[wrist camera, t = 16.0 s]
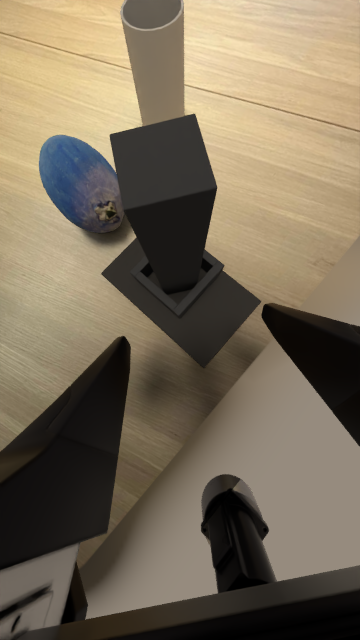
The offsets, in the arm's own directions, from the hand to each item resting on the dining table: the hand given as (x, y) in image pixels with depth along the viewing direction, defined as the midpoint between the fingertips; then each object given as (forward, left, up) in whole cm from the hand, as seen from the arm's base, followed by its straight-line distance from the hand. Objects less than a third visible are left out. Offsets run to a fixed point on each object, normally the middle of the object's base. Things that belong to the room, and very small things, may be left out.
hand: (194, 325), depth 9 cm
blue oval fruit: (+21, -5, -11) cm, 25 cm away
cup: (+28, -25, -11) cm, 39 cm away
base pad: (+5, -4, -11) cm, 13 cm away
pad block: (+6, -5, -10) cm, 13 cm away
